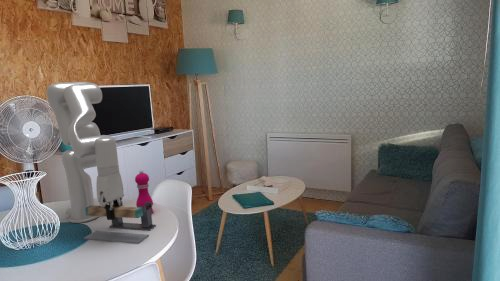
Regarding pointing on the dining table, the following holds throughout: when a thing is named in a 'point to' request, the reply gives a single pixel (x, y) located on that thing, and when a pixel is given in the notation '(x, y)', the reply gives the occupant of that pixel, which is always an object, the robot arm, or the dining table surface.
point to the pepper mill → (143, 189)
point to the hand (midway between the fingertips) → (114, 217)
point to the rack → (145, 223)
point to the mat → (117, 237)
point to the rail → (115, 211)
